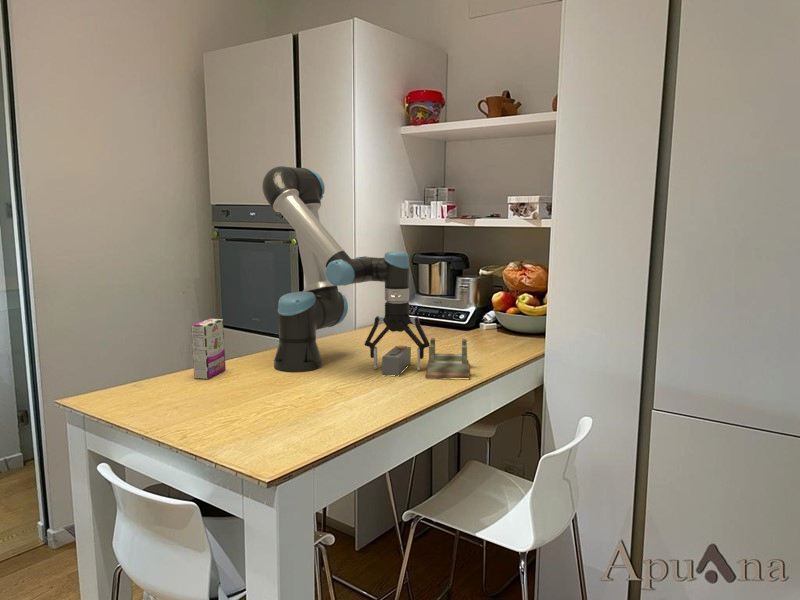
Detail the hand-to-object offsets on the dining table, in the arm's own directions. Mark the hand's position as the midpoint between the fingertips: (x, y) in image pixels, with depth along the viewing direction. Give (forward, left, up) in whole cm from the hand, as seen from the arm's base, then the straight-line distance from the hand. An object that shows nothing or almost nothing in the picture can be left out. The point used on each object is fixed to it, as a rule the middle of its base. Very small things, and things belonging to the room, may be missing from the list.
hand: (397, 368), depth 195 cm
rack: (+16, 0, 0) cm, 16 cm away
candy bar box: (-56, -12, -1) cm, 57 cm away
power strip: (0, 0, -1) cm, 1 cm away
